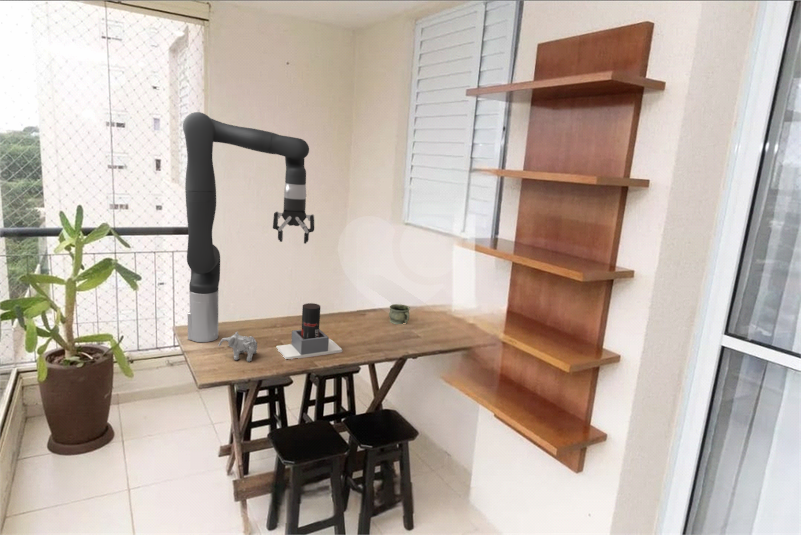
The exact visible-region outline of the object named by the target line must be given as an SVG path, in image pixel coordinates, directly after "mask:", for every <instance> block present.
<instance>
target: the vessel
mask: <svg viewBox="0 0 801 535" xmlns="http://www.w3.org/2000/svg"><path fill="white" fill-rule="evenodd" d="M410 310H411V308H410V306H409V305H405V304H403V303H402V304H401V303H400V304H399V303H396V304H390V305H389V311H388V318H389V322H390V324H392V325H393V324H394V325H398V324H403V323H406V324H408V321H409V320H410ZM406 324H405V325H406ZM403 325H404V324H403Z"/></svg>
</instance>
